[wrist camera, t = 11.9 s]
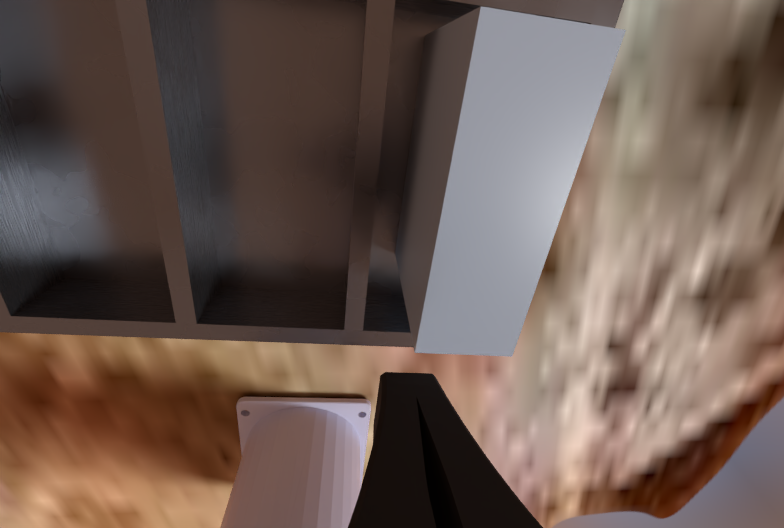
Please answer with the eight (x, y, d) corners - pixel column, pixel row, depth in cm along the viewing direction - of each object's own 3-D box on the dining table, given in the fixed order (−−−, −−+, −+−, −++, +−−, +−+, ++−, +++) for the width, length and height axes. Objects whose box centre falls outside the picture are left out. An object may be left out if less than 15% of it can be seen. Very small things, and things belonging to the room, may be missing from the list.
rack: (483, 304, 20) (507, 350, 17) (63, 282, 18) (-5, 331, 14) (565, 3, 14) (629, -18, 11) (-67, -100, 11) (-242, -170, 8)
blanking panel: (459, 258, 18) (512, 356, 12) (394, 253, 18) (415, 352, 11) (507, 47, 14) (625, 29, 8) (425, 35, 14) (481, 6, 7)
